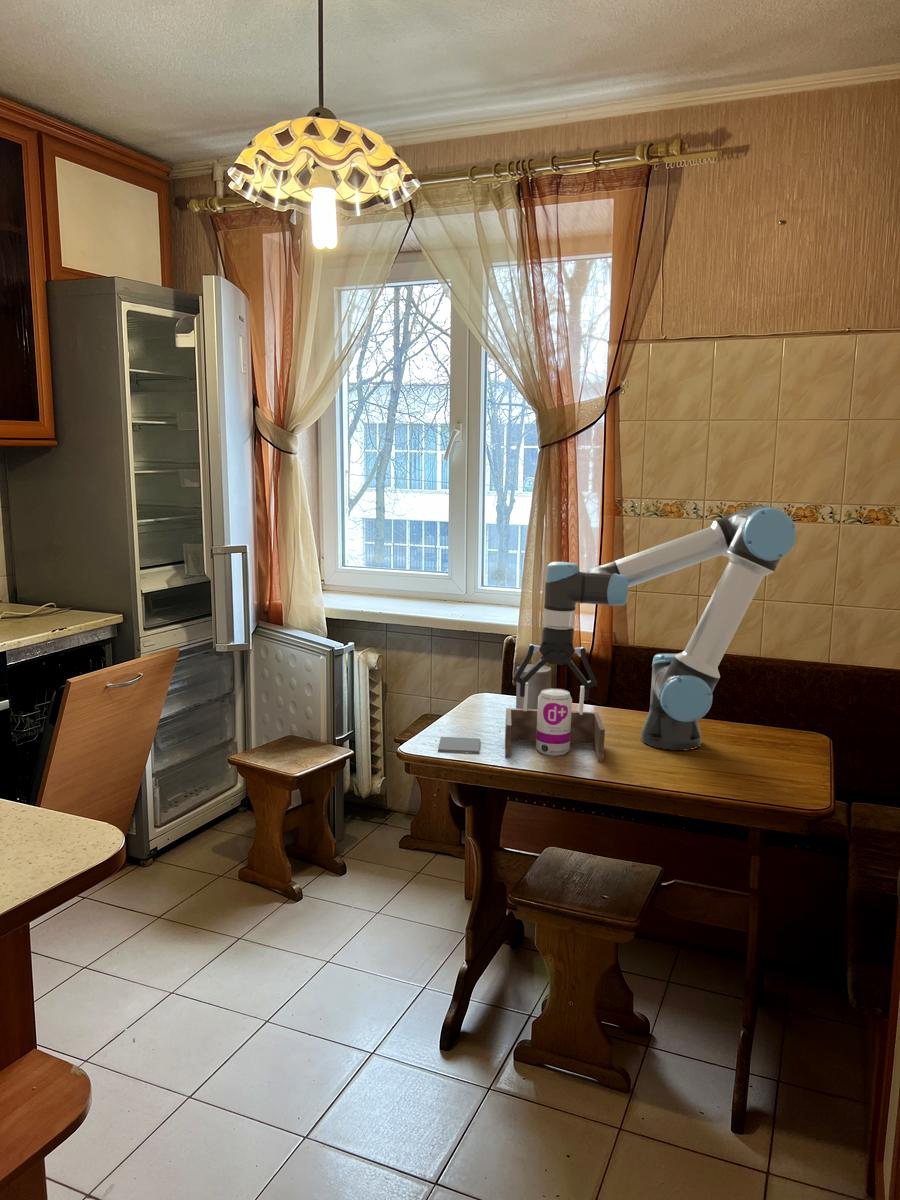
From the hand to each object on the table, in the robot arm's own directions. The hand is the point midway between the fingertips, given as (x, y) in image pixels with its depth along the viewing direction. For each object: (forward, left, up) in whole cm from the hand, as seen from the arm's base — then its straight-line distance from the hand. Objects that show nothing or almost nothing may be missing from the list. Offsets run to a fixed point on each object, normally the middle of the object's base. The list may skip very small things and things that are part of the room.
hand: (552, 711), depth 220 cm
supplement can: (0, 0, -10) cm, 10 cm away
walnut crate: (0, -1, -10) cm, 10 cm away
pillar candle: (+4, -31, -10) cm, 33 cm away
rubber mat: (+23, 0, -10) cm, 25 cm away
